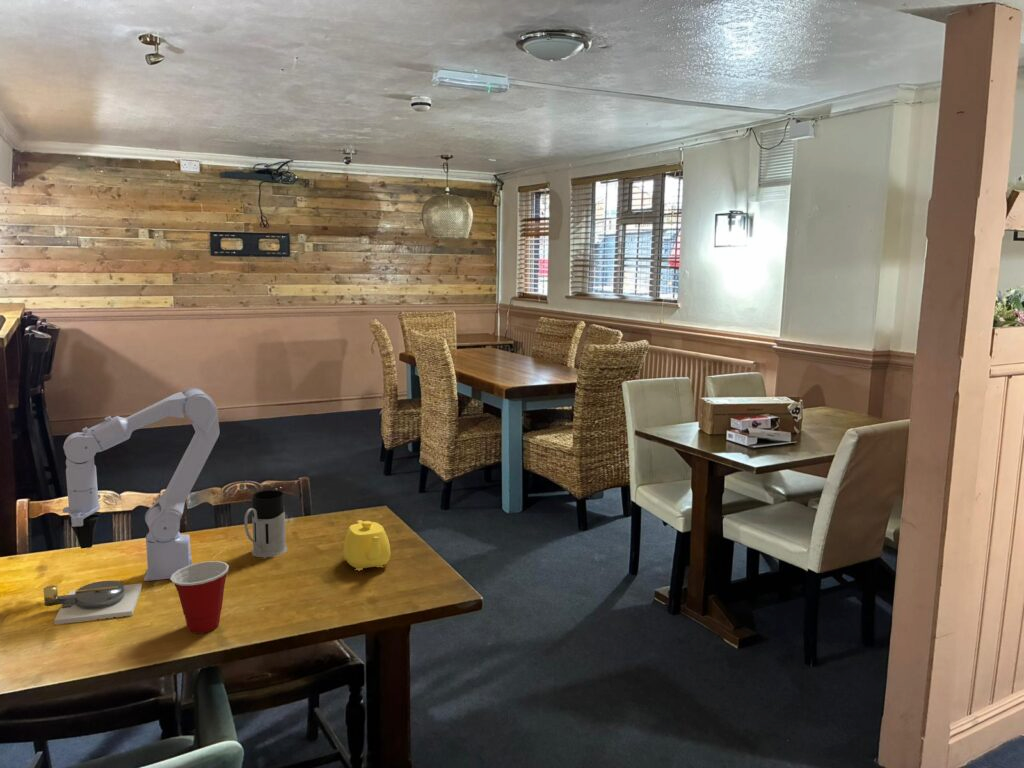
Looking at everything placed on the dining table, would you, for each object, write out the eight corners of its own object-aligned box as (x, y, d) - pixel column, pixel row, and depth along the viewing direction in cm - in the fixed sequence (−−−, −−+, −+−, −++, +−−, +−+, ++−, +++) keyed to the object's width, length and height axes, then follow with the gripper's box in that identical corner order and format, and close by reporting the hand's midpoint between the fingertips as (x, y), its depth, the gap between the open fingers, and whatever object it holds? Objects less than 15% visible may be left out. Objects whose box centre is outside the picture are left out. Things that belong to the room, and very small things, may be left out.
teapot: (400, 575, 176) (400, 532, 174) (354, 583, 171) (353, 538, 169) (379, 548, 192) (379, 509, 190) (337, 555, 187) (336, 514, 185)
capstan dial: (127, 587, 163) (126, 572, 162) (120, 605, 154) (119, 589, 154) (50, 595, 158) (49, 579, 158) (38, 614, 150) (37, 597, 149)
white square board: (141, 587, 166) (141, 582, 166) (132, 615, 153) (131, 610, 153) (70, 595, 162) (70, 590, 161) (54, 624, 149) (54, 619, 148)
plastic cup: (184, 614, 154) (181, 559, 152) (237, 613, 155) (235, 558, 153) (164, 640, 143) (161, 581, 142) (222, 639, 144) (219, 581, 142)
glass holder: (294, 547, 191) (292, 491, 189) (263, 568, 178) (261, 508, 176) (264, 543, 194) (262, 488, 191) (231, 564, 180) (228, 504, 178)
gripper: (69, 479, 168) (73, 537, 170) (53, 499, 154) (58, 561, 156) (104, 477, 170) (108, 534, 172) (91, 496, 156) (95, 557, 159)
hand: (86, 547), depth 164 cm, fingers closed
